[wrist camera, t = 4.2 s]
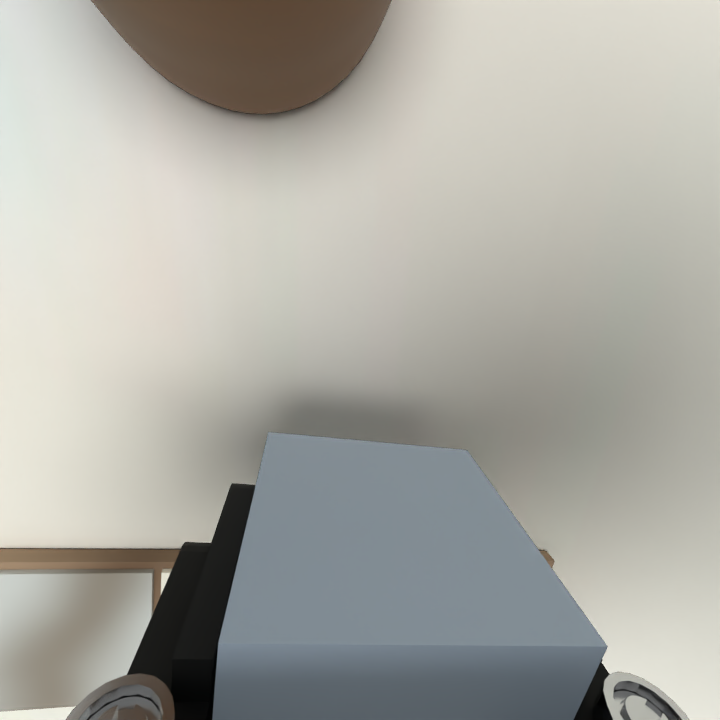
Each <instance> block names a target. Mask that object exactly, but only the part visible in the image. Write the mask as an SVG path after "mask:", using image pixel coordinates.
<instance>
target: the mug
mask: <svg viewBox="0 0 720 720" xmlns="http://www.w3.org/2000/svg"><path fill="white" fill-rule="evenodd" d="M91 1H92V2H93V3H94V5H95V6H96V7H97V8H98V9H99V11H100V12H101V13H102V14H103V15H104V17H105V18H106V19H107V20H108V21H109V23H110V24H111V25H112V26H113V27H114V29H115V30H116V31H117V32H118V33H119V34H120V36H121V37H122V38H123V39H124V40H125V41H126V42H127V43H128V44H129V45H130V46H131V47H132V48H133V49H134V50H135V51H136V52H137V53H138V54H139V55H140V56H141V57H142V58H143V59H144V60H145V61H146V62H147V63H148V64H149V65H150V66H151V67H152V68H154V69H155V70H156V71H157V72H159V73H160V74H161V75H162V76H164V77H165V78H166V79H167V80H169V81H170V82H171V83H173V84H175V85H176V86H178V87H179V88H181V89H183V90H184V91H186V92H187V93H189V94H191V95H193V96H195V97H198V98H200V99H202V100H204V101H206V102H208V103H210V104H213V105H216V106H219V107H222V108H225V109H228V110H233V111H239V112H244V113H258V114H268V113H277V112H284V111H288V110H292V109H295V108H299V107H302V106H304V105H306V104H308V103H311V102H313V101H315V100H317V99H318V98H320V97H321V96H323V95H325V94H326V93H328V92H329V91H331V90H332V89H333V88H334V87H335V86H337V85H338V84H339V83H340V82H341V81H342V80H343V79H345V78H346V77H347V76H348V75H349V73H350V72H351V71H352V70H353V69H354V68H355V66H356V65H357V64H358V63H359V62H360V60H361V58H362V57H363V55H364V54H365V52H366V51H367V49H368V48H369V46H370V45H371V43H372V41H373V39H374V37H375V35H376V33H377V31H378V29H379V27H380V25H381V23H382V21H383V19H384V16H385V14H386V12H387V10H388V8H389V5H390V3H391V0H91Z"/></svg>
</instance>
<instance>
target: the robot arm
mask: <svg viewBox="0 0 720 720" xmlns="http://www.w3.org/2000/svg"><path fill="white" fill-rule="evenodd" d="M254 491H255V485H247V484H231V486H230V489H229V492H228V495H227V498H226V501H225V504H224V507H223V510H222V513H221V516H220V519H219V522H218V525H217V528H216V531H215V534H214V537H213V540H212V543H194V542H185V543H184V544H183V546H182V548H181V550H180V552H179V554H178V556H177V559H176V561H175V563H174V566H173V568H172V570H171V573H170V575H169V577H168V580H167V582H166V584H165V587H164V589H163V591H162V594H161V596H160V598H159V601H158V603H157V605H156V608H155V610H154V612H153V615H152V617H151V619H150V622H149V624H148V626H147V629H146V631H145V633H144V636H143V638H142V640H141V643H140V645H139V647H138V650H137V652H136V654H135V657H134V659H133V661H132V664H131V666H130V668H129V671H128V673H127V675H124V676H121V677H119V678H116V679H114V680H111V681H109V682H106V683H105V684H103V685H102V686H100V687H99V688H97V689H96V690H94V691H93V692H91V693H90V694H88V695H87V696H86V697H85V698H84V699H83V700H82V701H81V702H80V703H79V704H78V705H77V706H76V707H75V708H74V709H73V710H72V711H71V713H70V714H69V716H68V717H67V719H66V720H212V717H213V704H214V692H215V679H216V666H217V653H218V642H219V638H220V634H221V630H222V626H223V621H224V617H225V613H226V609H227V604H228V600H229V596H230V592H231V588H232V583H233V579H234V575H235V571H236V566H237V562H238V558H239V554H240V550H241V545H242V541H243V537H244V533H245V529H246V524H247V520H248V516H249V512H250V507H251V503H252V499H253V495H254ZM601 662H602V660H601ZM601 662H600V664H599V666H598V668H597V670H596V673H595V675H594V677H593V679H592V681H591V683H590V685H589V688H588V690H587V692H586V694H585V696H584V698H583V700H582V703H581V705H580V707H579V709H578V711H577V713H576V715H575V718H574V720H689V718H688V717H687V715H686V714H685V713H684V712H683V711H682V710H681V709H680V708H679V706H678V705H677V704H676V703H675V702H674V701H673V700H672V699H671V698H670V697H668V696H667V695H666V694H665V693H664V692H662V691H661V690H660V689H659V688H658V687H656V686H654V685H653V684H651V683H650V682H648V681H646V680H645V679H643V678H640V677H638V676H635V675H633V674H631V673H624V672H615V673H612V674H609V673H608V672H607V670H606V669H605V667H604V666H603V664H602V663H601Z"/></svg>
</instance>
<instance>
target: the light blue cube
mask: <svg viewBox="0 0 720 720" xmlns="http://www.w3.org/2000/svg"><path fill="white" fill-rule="evenodd" d="M607 647H608V646H607V645H606V644H605V642H604V641H603V639H602V638H601V637H600V635H599V634H598V632H597V631H596V630H595V628H594V627H593V625H592V624H591V623H590V621H589V620H588V618H587V617H586V616H585V614H584V613H583V611H582V610H581V609H580V607H579V606H578V604H577V603H576V602H575V600H574V599H573V597H572V596H571V595H570V593H569V592H568V590H567V589H566V588H565V586H564V585H563V583H562V582H561V581H560V579H559V578H558V576H557V575H556V574H555V572H554V571H553V569H552V568H551V567H550V565H549V564H548V562H547V561H546V560H545V558H544V557H543V555H542V554H541V553H540V551H539V550H538V548H537V547H536V546H535V544H534V543H533V541H532V540H531V539H530V537H529V536H528V534H527V533H526V532H525V530H524V529H523V527H522V526H521V525H520V523H519V522H518V520H517V519H516V518H515V516H514V515H513V513H512V512H511V511H510V509H509V508H508V506H507V505H506V504H505V502H504V501H503V500H502V498H501V497H500V495H499V494H498V493H497V491H496V490H495V488H494V487H493V486H492V484H491V483H490V481H489V480H488V479H487V477H486V476H485V474H484V473H483V472H482V470H481V469H480V467H479V466H478V465H477V463H476V462H475V460H474V459H473V458H472V456H471V455H470V453H469V452H468V451H467V450H461V449H450V448H439V447H428V446H417V445H406V444H395V443H384V442H373V441H362V440H351V439H340V438H329V437H318V436H307V435H296V434H285V433H274V432H268V436H267V440H266V444H265V448H264V453H263V457H262V461H261V465H260V469H259V474H258V478H257V482H256V486H255V491H254V495H253V499H252V503H251V507H250V512H249V516H248V520H247V524H246V529H245V533H244V537H243V541H242V545H241V550H240V554H239V558H238V562H237V566H236V571H235V575H234V579H233V583H232V588H231V592H230V596H229V600H228V604H227V609H226V613H225V617H224V621H223V626H222V630H221V634H220V638H219V642H218V653H217V666H216V679H215V692H214V704H213V717H212V720H574V718H575V715H576V713H577V711H578V709H579V707H580V705H581V703H582V700H583V698H584V696H585V694H586V692H587V690H588V688H589V685H590V683H591V681H592V679H593V677H594V675H595V673H596V670H597V668H598V666H599V664H600V662H601V660H602V658H603V655H604V653H605V651H606V649H607Z"/></svg>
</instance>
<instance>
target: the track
mask: <svg viewBox="0 0 720 720" xmlns="http://www.w3.org/2000/svg"><path fill="white" fill-rule="evenodd" d="M179 552H180V550H156V549H0V712H1V711H15V710H29V709H43V708H57V707H71V706H77V705H78V704H79V703H80V702H81V701H82V700H83V699H84V698H85V697H86V696H87V695H88V694H90V693H91V692H93V691H94V690H96V689H97V688H99V687H100V686H102V685H103V684H105V683H106V682H109V681H111V680H114V679H116V678H119V677H121V676H124V675H127V673H128V671H129V668H130V666H131V664H132V661H133V659H134V657H135V654H136V652H137V650H138V647H139V645H140V643H141V640H142V638H143V636H144V633H145V631H146V629H147V626H148V624H149V622H150V619H151V617H152V615H153V612H154V610H155V608H156V605H157V603H158V601H159V598H160V596H161V594H162V591H163V589H164V587H165V584H166V582H167V580H168V577H169V575H170V573H171V570H172V568H173V566H174V563H175V561H176V559H177V556H178V554H179ZM540 553H541V554H542V555H543V557H544V558H545V560H546V561H547V562H548V564H549V565H550V567H551V568H552V567H553V564H554V560H553V559H552V557H551V556H550V555H549V554H548V553H547V551H540Z"/></svg>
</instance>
